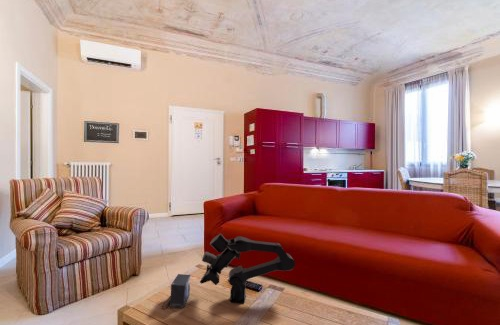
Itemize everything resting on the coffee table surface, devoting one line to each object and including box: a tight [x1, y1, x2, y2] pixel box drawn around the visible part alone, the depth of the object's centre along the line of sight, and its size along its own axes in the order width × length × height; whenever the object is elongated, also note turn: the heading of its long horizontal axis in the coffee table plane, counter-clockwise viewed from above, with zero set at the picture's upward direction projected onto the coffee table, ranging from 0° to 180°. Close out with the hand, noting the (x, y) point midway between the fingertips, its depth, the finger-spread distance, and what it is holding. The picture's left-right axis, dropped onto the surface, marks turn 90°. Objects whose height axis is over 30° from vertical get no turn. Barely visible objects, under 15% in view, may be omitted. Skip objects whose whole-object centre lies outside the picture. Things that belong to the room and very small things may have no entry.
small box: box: [169, 273, 191, 309], centre depth 116 cm, size 11×6×10 cm, turn 179°
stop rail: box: [161, 294, 171, 310], centre depth 117 cm, size 2×14×2 cm, turn 171°
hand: (200, 282), depth 117 cm, fingers closed
